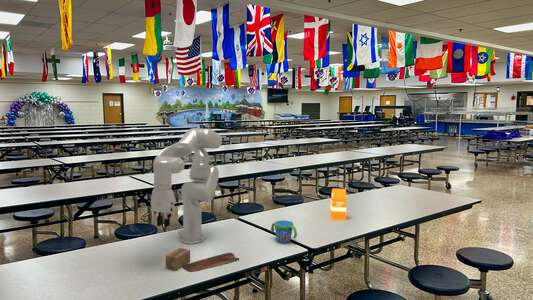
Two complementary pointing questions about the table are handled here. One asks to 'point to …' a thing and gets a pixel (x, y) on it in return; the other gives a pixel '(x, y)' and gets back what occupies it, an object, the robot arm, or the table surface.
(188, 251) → the walnut block
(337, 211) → the orange juice
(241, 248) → the table surface
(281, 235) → the snack cup
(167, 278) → the table surface
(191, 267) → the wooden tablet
